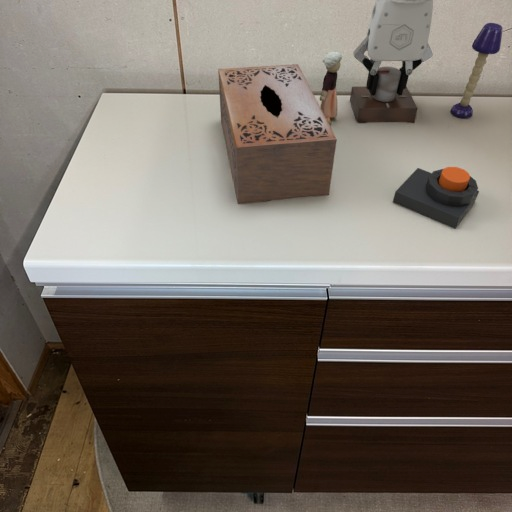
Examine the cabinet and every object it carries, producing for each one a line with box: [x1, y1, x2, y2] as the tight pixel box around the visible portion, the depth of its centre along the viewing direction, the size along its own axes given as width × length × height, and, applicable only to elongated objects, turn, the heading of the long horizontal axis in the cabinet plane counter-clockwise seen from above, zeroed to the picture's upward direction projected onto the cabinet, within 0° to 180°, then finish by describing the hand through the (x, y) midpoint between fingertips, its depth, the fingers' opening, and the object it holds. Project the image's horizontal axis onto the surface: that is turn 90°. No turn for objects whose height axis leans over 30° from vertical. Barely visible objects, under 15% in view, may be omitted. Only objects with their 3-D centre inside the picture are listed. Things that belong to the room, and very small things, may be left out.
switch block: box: [392, 167, 480, 230], centre depth 72 cm, size 10×8×4 cm
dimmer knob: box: [373, 66, 401, 102], centre depth 89 cm, size 4×4×5 cm
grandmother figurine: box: [319, 51, 343, 125], centre depth 87 cm, size 8×4×13 cm, turn 168°
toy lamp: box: [449, 22, 503, 120], centre depth 87 cm, size 5×5×17 cm
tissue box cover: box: [217, 63, 338, 205], centre depth 79 cm, size 26×14×10 cm, turn 9°
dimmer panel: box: [349, 86, 419, 124], centre depth 92 cm, size 11×9×3 cm
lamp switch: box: [439, 166, 471, 192], centre depth 70 cm, size 4×4×2 cm
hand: (384, 91), depth 91 cm, fingers closed on dimmer knob, 4 cm apart
